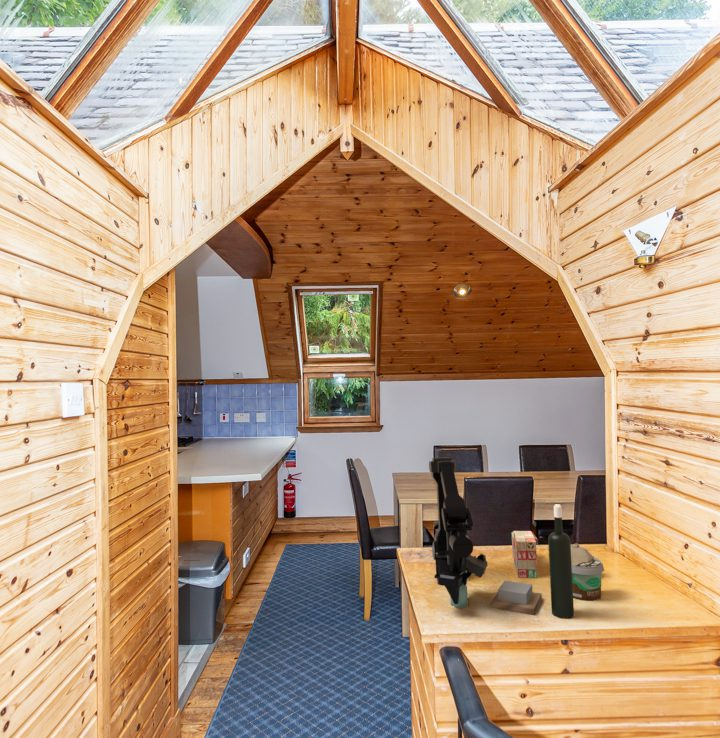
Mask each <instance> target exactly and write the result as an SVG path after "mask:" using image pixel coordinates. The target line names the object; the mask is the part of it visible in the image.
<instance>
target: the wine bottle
mask: <svg viewBox="0 0 720 738" xmlns="http://www.w3.org/2000/svg"><path fill="white" fill-rule="evenodd" d="M562 507H563V506H561V503H559V504H558V503H557V504H554V505H553V517H554V518H553V519H554V531H553V532H551V533H550V534H549V535H548V539H547V540H548V541H547V542H548V543H547V544H548V545H547V546H548V561H549V562H548V564H549V579H550V580H549V583H550V585H549V587H550V602H551V603H550V604H551V615H553V616H554V617H556V618H560V619H571V618H573V617H574V616H575V607H574V598H573V583H572V563H571V544H572V543H571V538H570V536H569V535H568V534H567V533H565V532H563V508H562Z"/></svg>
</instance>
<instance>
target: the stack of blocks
mask: <svg viewBox="0 0 720 738" xmlns="http://www.w3.org/2000/svg"><path fill="white" fill-rule="evenodd" d="M511 545H512V546H511V549H512V560H513V564H514V566H515V570H516V575H517V578H519V579H538V567H537V565H538V564H537V541H536V538H535V536H534V534H533V532H532V531H531V530H513V531H512V532H511Z"/></svg>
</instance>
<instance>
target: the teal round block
mask: <svg viewBox="0 0 720 738" xmlns="http://www.w3.org/2000/svg"><path fill="white" fill-rule="evenodd" d="M449 596H450V595H449ZM468 600H469V599H468V586H467V584H466V585H464V584H462V586H460V591H459V600H458V604H454V602H453V600H452V598H451V596H450V599H449V602H450V605H451V606H452V607H453V606H454V608H457V607H459V608H461V607H462V608H461V609H463V608H467V606H468V605H469V604H468V603H469V601H468Z"/></svg>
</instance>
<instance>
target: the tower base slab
mask: <svg viewBox="0 0 720 738" xmlns="http://www.w3.org/2000/svg"><path fill="white" fill-rule="evenodd" d="M532 594H533V595H532V596H531V598H530V600H529V602H528V603H527V605H525V604H519V603H513V602H507V601H501V600H498V591H497V592H496V593H495V595H494V596H493V598H492V599H491V601H490V609H493V610H494V609H495V610H500V611H504V612H505V611H506V612H511V613H512V612H513V613H517V614H523V615H529V616H536V615H535V614H536V612H537V611H538V608H539V607H540V604H541V602H542V600H543V597H542V592H535V591H534V592H533V591H532Z"/></svg>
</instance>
